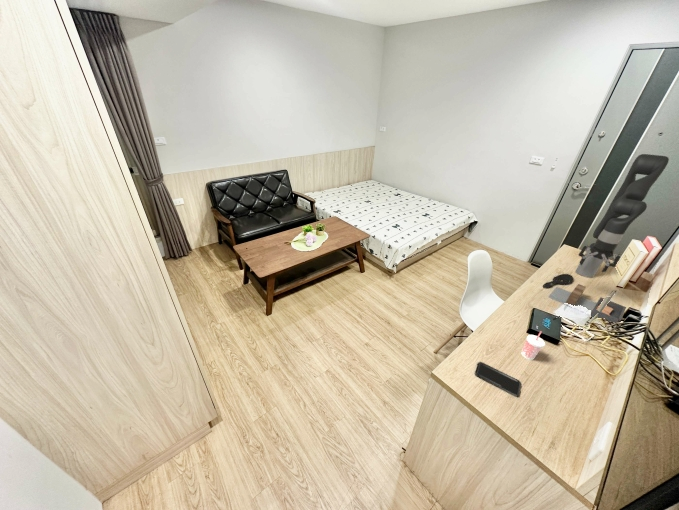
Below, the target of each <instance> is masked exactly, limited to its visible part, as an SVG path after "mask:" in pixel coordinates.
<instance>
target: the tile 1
mask: <svg viewBox="0 0 679 510" xmlns="http://www.w3.org/2000/svg"><path fill="white" fill-rule="evenodd" d="M599 306H600V305H599ZM599 306H598V307H597V309H598V308H599ZM603 310H604V311H605V312H607V313H608V314H610V313H611V312H612V311H613V309H612V308H610V307H608V306H606V307H605V308H604V309H603Z"/></svg>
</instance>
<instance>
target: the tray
mask: <svg viewBox="0 0 679 510" xmlns="http://www.w3.org/2000/svg"><path fill="white" fill-rule="evenodd" d="M603 299H605V298H604V297H600V298H599V299H598V301H597V302H596V303H597V304H596V305H595V307H594V309H593V310H592V312H591V316H592V317H594V316H595V315H596V314H597V313H599V314H598V318H605V319H607V320H608V321H611V322H619V323H621V321H622V319H623V316H624V313H625V311H626V309H627V307H626V306H624V305H622V304H619V303H617V302H614V301H611V300H609V301H610V302H609V303H608V304H607V306H608V307H610V308H612V309H613V311H612V312H611V313H610V314H609V315H608V314H605V313H603V312H599V311H598V310H596V309H597V307H598V306H599V305H600V304H601V302H602V301H603Z"/></svg>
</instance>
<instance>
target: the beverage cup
mask: <svg viewBox="0 0 679 510" xmlns="http://www.w3.org/2000/svg"><path fill="white" fill-rule="evenodd" d="M541 334H542V331H541V330H540V331H539V333H538V335H534V334H528V335H527V336H526V341H525V343H524V345H523V347H522V349H521V356H522V357H524V358H525V359H526V360H529V361H533V360H534V359H535V358H536V356H538V353H540V351H541V350H542V348H544V347H545V346H546V342H545V341H544V339H543V338H541V337H540V335H541Z"/></svg>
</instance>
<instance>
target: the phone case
mask: <svg viewBox="0 0 679 510" xmlns="http://www.w3.org/2000/svg"><path fill="white" fill-rule="evenodd" d="M557 316H560V317H562V318H563V319H562V318H561V319H562V320H564V321H565V322H567V323H569V324H570V325H573V324H574V325H577V326H579V325H578V324H576V323H574V322H572V321H571V320H569V319H567V318H565V317H564V316H562V315H557ZM560 317H559V318H560ZM574 325H573V326H574ZM562 327H563V328H562ZM562 327H561V328H562V329H564V330H565V331H568V332H569V331H571V332H572V333H573V334H574V335H576V336H577V337H579V338H580V339H581V340H582V341H584V342H586V343H587V342H589V341H590V340H591V338H592V339H593V338H595V336H596V335H595V334H594V333H592V332H590V331H589V330H587V329H585V328H583V327H581V326H579V328H578V329H580V328H581V329H583V330H586V332H585V333H586V334H589V335H590V336H591V337H589V338H588V339H586V338H585V337H583V336H581V335H579V334H578V333H576V332H574V331H572V330H571V329H569V328H567V327H566V326H564V325H562ZM581 329H580V330H581ZM583 330H582V331H583Z"/></svg>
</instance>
